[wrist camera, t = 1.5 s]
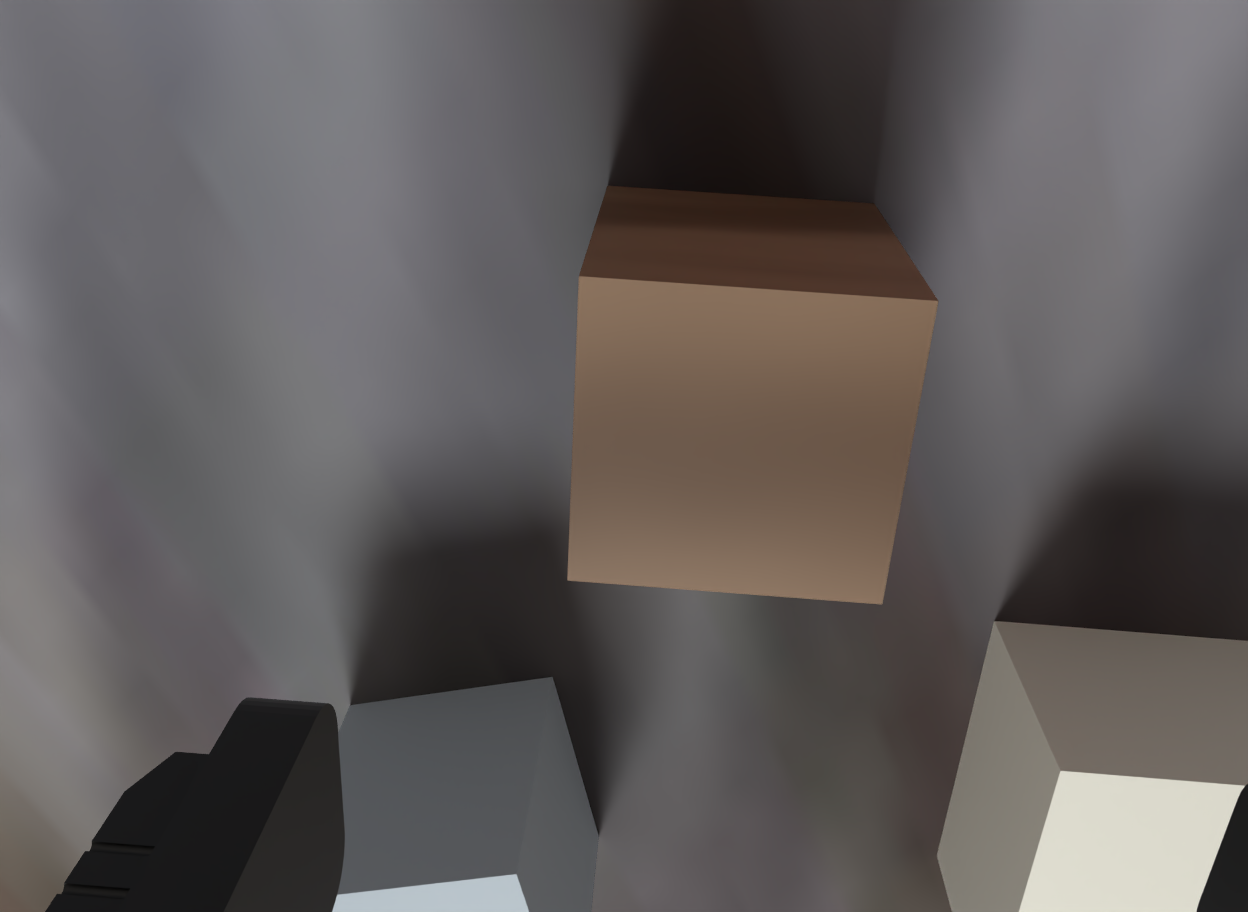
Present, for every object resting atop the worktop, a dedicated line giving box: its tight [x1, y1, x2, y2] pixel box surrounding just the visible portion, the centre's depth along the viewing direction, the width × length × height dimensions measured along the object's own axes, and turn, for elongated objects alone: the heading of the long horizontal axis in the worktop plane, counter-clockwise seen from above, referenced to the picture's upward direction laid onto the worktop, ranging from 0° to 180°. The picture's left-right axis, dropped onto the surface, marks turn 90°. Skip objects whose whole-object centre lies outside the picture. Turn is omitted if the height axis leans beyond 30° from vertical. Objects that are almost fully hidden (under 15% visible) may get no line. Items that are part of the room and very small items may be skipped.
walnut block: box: [567, 186, 938, 604], centre depth 19 cm, size 5×5×6 cm
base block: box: [937, 621, 1248, 912], centre depth 24 cm, size 7×7×5 cm
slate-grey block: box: [332, 677, 599, 912], centre depth 25 cm, size 5×5×6 cm
